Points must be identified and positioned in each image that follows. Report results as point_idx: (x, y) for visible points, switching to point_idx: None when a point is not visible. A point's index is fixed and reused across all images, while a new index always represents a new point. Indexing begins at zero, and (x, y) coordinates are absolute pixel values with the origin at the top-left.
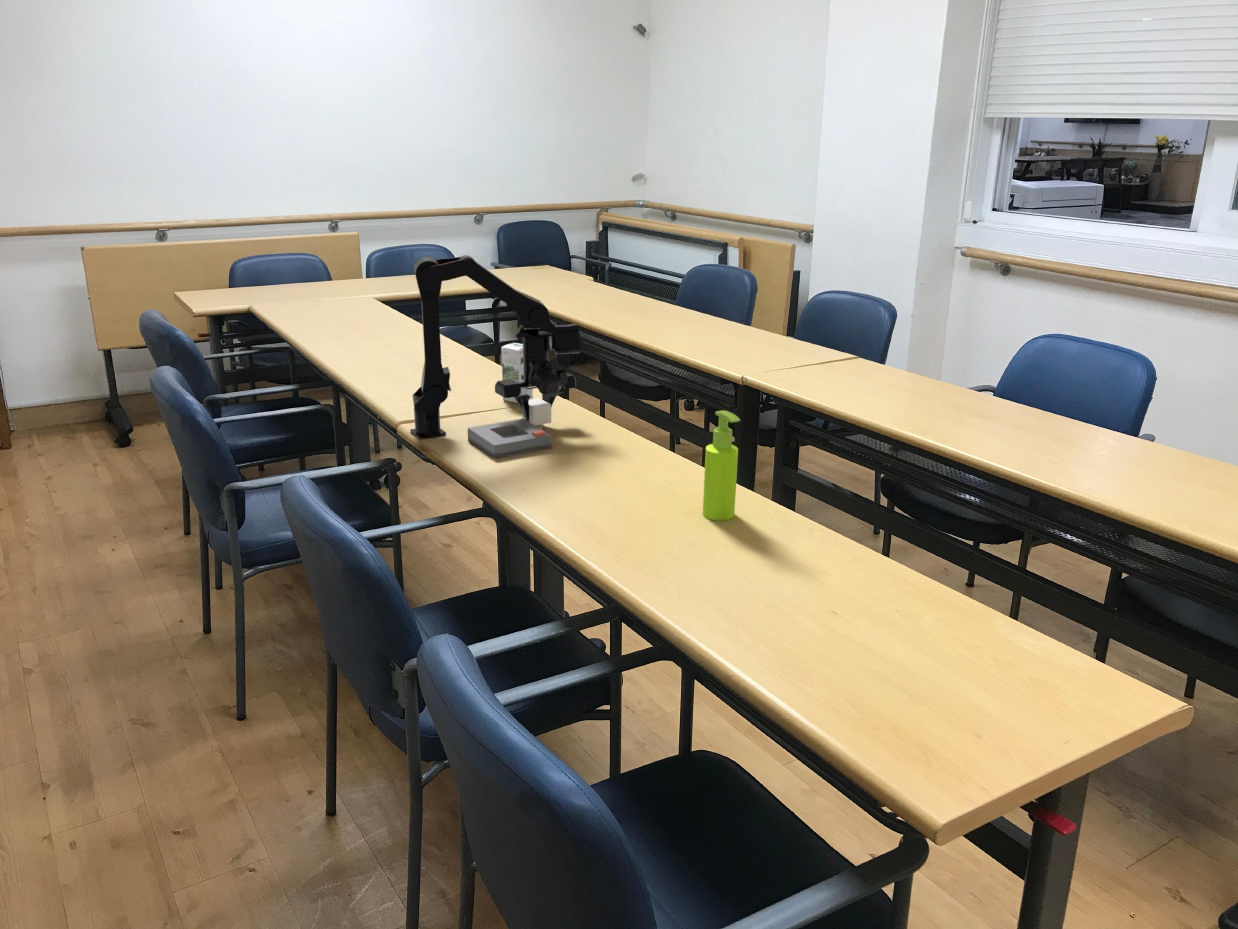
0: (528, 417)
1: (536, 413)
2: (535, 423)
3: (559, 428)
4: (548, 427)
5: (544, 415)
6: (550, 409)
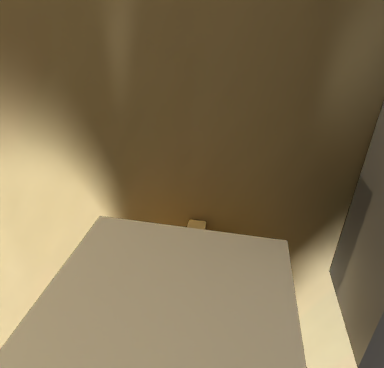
0: None
1: (257, 344)
2: (269, 251)
3: (59, 161)
4: None
5: (143, 287)
6: (27, 328)
